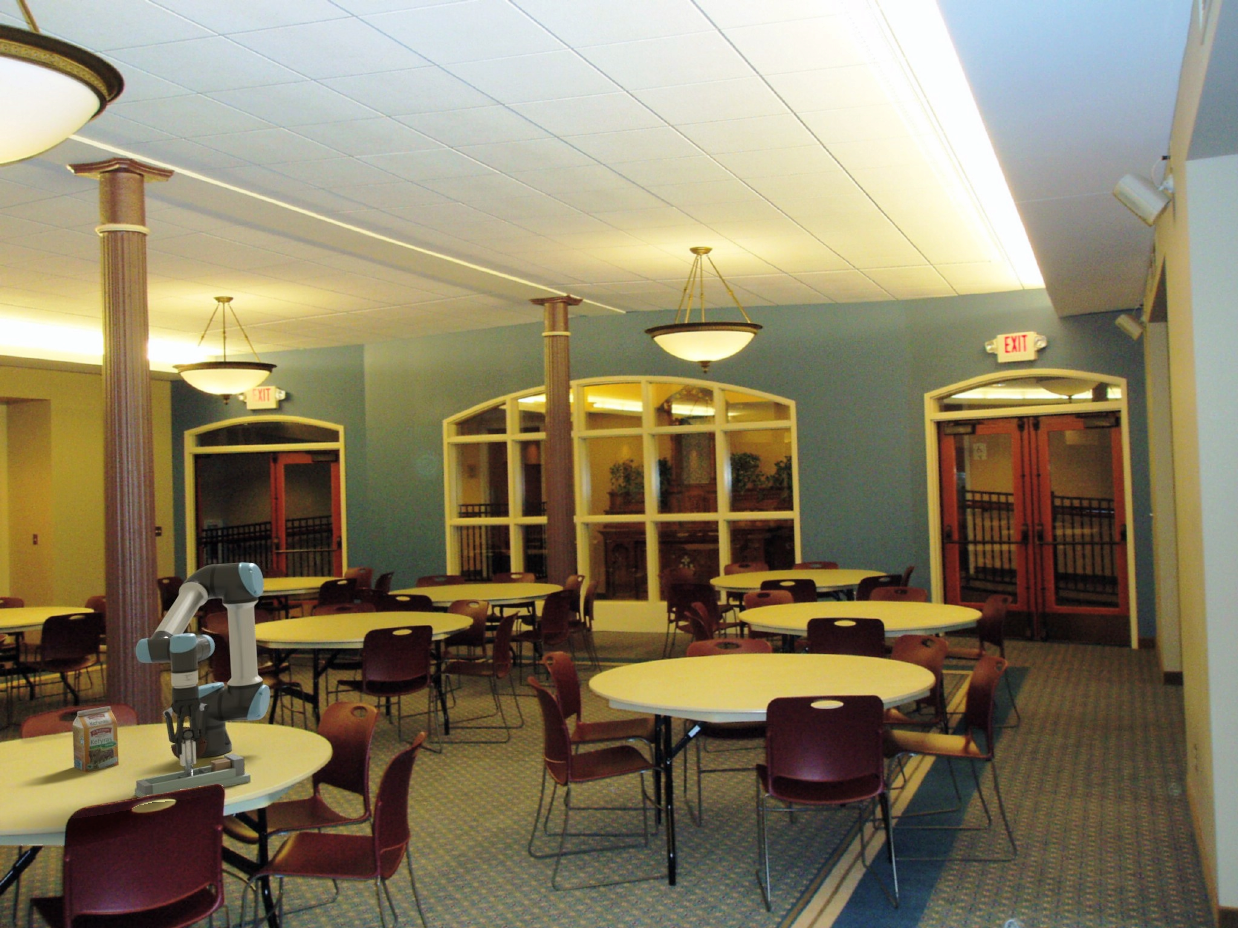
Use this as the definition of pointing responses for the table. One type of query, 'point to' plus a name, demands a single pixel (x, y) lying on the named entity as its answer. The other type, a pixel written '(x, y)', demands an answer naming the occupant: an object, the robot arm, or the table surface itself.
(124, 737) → the table surface
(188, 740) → the lever
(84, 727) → the milk carton
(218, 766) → the walnut block
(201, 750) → the ice cream bowl
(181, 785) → the grey slotted track
